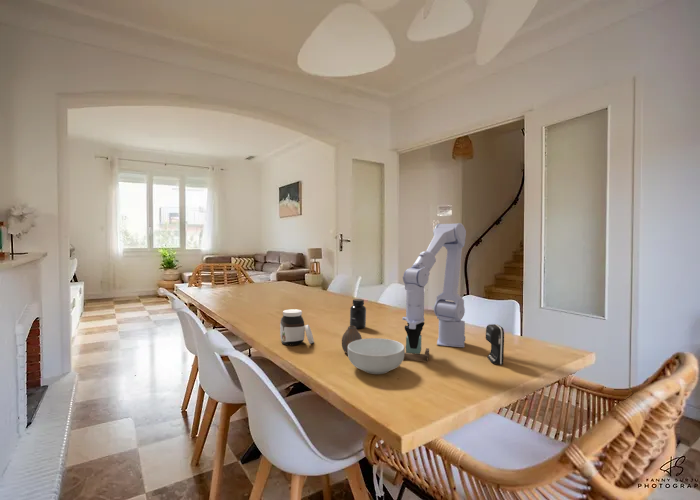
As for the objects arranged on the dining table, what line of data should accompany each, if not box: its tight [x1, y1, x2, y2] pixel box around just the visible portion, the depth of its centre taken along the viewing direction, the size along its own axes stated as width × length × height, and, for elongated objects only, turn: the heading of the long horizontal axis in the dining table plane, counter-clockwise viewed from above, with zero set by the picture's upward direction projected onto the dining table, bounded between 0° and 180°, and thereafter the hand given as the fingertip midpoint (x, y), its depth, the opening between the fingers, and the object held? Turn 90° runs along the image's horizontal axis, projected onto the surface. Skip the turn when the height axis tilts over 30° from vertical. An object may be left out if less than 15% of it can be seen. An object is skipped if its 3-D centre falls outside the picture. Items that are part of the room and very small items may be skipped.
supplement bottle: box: [349, 298, 367, 330], centre depth 155 cm, size 7×7×12 cm
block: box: [405, 334, 422, 354], centre depth 118 cm, size 4×4×5 cm
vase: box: [341, 325, 363, 355], centre depth 121 cm, size 7×7×9 cm
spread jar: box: [279, 308, 315, 346], centre depth 132 cm, size 12×11×12 cm
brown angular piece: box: [403, 347, 430, 362], centre depth 119 cm, size 17×8×2 cm, turn 74°
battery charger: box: [485, 323, 505, 365], centre depth 113 cm, size 7×4×11 cm, turn 177°
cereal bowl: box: [347, 337, 406, 375], centre depth 105 cm, size 17×17×7 cm
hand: (414, 346), depth 118 cm, fingers closed on block, 4 cm apart
